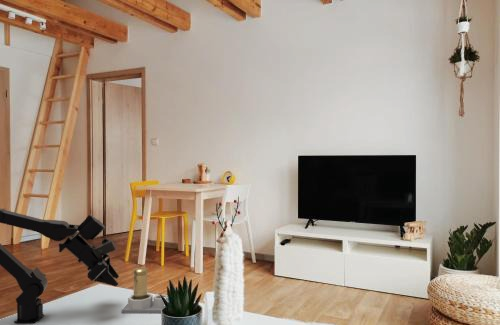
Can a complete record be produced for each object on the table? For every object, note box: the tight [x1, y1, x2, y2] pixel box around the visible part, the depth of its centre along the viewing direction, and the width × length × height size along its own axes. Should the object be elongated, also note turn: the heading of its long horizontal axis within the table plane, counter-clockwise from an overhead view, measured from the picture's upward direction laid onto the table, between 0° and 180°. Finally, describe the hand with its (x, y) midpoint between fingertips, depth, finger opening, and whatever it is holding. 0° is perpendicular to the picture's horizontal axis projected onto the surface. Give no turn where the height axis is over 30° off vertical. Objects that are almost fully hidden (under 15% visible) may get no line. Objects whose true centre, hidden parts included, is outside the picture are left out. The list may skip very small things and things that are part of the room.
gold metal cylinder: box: [132, 266, 148, 300], centre depth 144 cm, size 5×5×12 cm
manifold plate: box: [121, 292, 169, 314], centre depth 144 cm, size 16×9×4 cm, turn 89°
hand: (117, 281), depth 142 cm, fingers open, 9 cm apart
